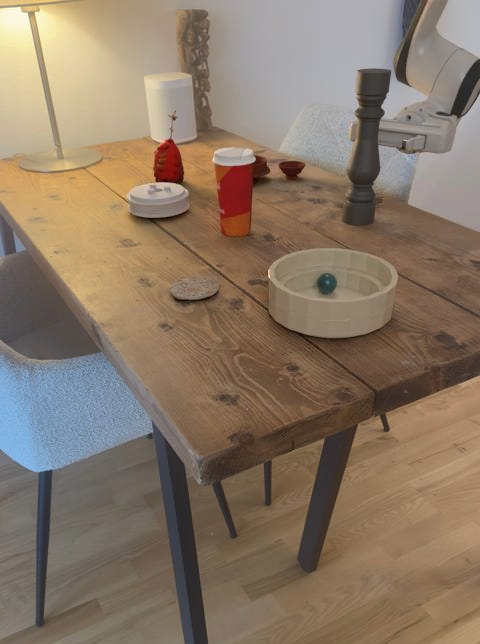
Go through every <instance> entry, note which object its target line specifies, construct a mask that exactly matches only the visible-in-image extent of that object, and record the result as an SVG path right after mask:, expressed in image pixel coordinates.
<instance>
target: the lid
mask: <svg viewBox="0 0 480 644" xmlns="http://www.w3.org/2000/svg"><path fill="white" fill-rule="evenodd" d="M189 195H190V194H189V190H187V188H185V187H184V186H183V185H181V184H179V183H177V184H174V183H165V182H159V183H157V182H149V183H143V184H140V185H137V186H134V187H133V188H131V189H130V191H129V192H127V194H126V195H125V196H126V200H127V201H128V206H127V210H128V213H130V214H132V215H134V216H136V217H141V218H150V219H151V218H153V219H155V218H156V219H157V218H159V219H160V218H167V217H174V216H177V215H180V214H182V213H185V212H186V211H188V210H189V209H190V206H191V205H190V202H189Z"/></svg>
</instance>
